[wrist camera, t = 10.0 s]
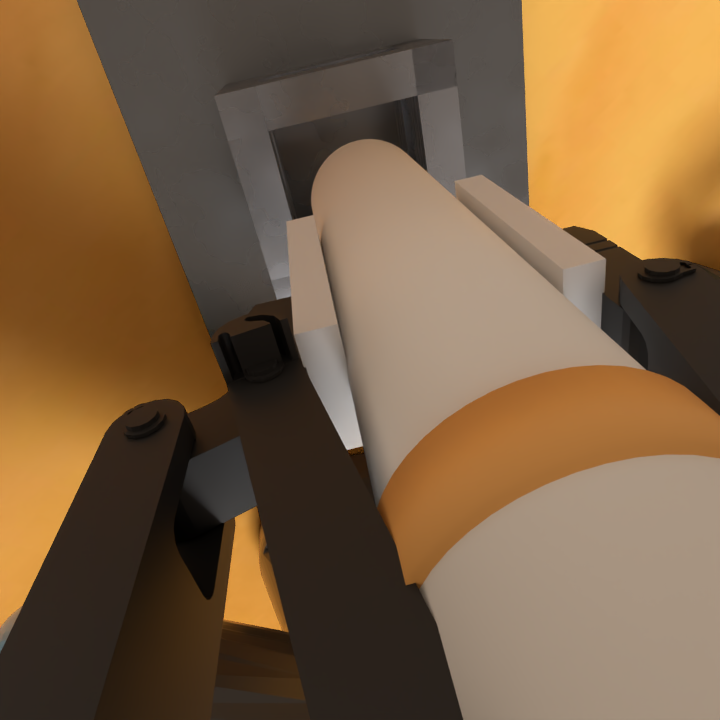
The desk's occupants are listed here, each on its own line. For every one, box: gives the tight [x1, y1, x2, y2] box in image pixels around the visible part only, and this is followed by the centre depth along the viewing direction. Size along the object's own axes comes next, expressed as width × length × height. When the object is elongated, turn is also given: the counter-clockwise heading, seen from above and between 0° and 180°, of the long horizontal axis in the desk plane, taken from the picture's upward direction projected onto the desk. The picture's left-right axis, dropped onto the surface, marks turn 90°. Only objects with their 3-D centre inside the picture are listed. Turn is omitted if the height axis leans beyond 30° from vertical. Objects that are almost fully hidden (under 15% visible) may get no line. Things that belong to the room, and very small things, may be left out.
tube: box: [311, 139, 720, 720], centre depth 12 cm, size 4×4×18 cm
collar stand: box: [77, 0, 529, 338], centre depth 24 cm, size 18×18×6 cm
